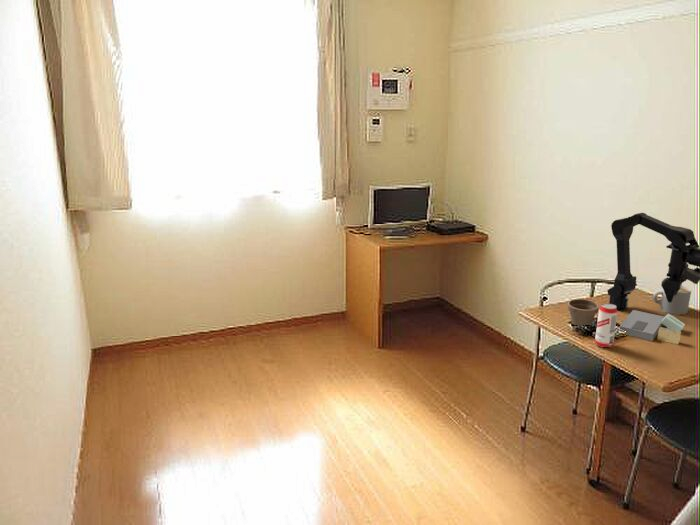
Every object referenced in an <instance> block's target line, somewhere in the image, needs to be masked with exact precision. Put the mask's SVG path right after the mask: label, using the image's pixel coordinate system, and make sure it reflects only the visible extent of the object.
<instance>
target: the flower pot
mask: <svg viewBox="0 0 700 525" xmlns="http://www.w3.org/2000/svg"><path fill="white" fill-rule="evenodd" d="M599 308H600V306H599V304H598V303H597V302H596V301H593V300H589V299H586V298H576V299H571V300H569V301H568V302H567V309H568V311H569V314H570V315H569V316H570V322H571V325H572V324H574V325H580V326H583V325H584V326H585V325H590V324H591V323H593V321H594V318H595V316H596V315H598V314H599ZM591 325H592V324H591Z"/></svg>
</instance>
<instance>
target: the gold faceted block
mask: <svg viewBox="0 0 700 525" xmlns="http://www.w3.org/2000/svg"><path fill="white" fill-rule="evenodd" d="M681 336H682V331H676V330H674V329H673V328H668V327H663V326H662V327H660V328H659V332H658V334H657V336H656V338H657V339H656V340H658V341H660V342H661V341H662V342H666V343H670V344H674V345H679V343H680V339H681Z"/></svg>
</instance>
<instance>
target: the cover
mask: <svg viewBox="0 0 700 525" xmlns="http://www.w3.org/2000/svg"><path fill="white" fill-rule="evenodd" d="M661 323H662V324H663V326H665V328H667V327H668V328H673V329H674V330H676V331H680V332H682V330H683V329H684V327H685V325H686V324H685V323H684V322H682V321H681V320H679V319H678V318H677V317H675V316H674V315H673V314H669V313H667V314H666V315H665V316H664V319H663V320H662V322H661Z"/></svg>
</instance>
